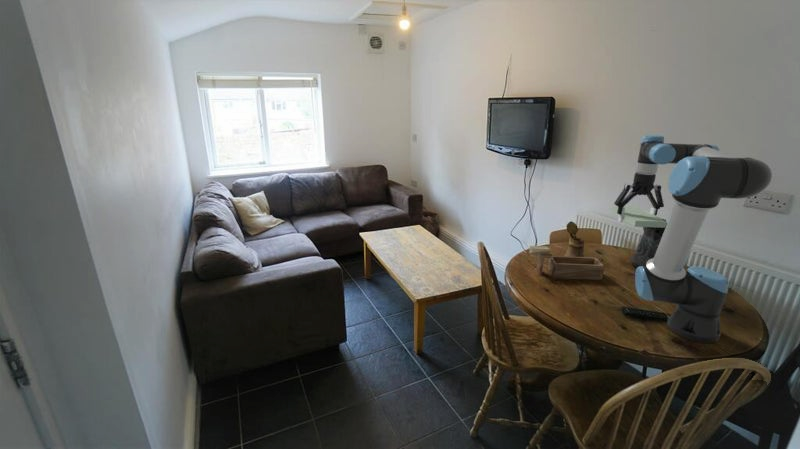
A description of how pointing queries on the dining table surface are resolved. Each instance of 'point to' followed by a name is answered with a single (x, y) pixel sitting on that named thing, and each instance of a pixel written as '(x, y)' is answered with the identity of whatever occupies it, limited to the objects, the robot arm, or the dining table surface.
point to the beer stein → (647, 245)
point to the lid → (639, 217)
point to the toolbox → (571, 267)
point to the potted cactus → (574, 242)
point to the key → (539, 250)
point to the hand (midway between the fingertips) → (634, 221)
